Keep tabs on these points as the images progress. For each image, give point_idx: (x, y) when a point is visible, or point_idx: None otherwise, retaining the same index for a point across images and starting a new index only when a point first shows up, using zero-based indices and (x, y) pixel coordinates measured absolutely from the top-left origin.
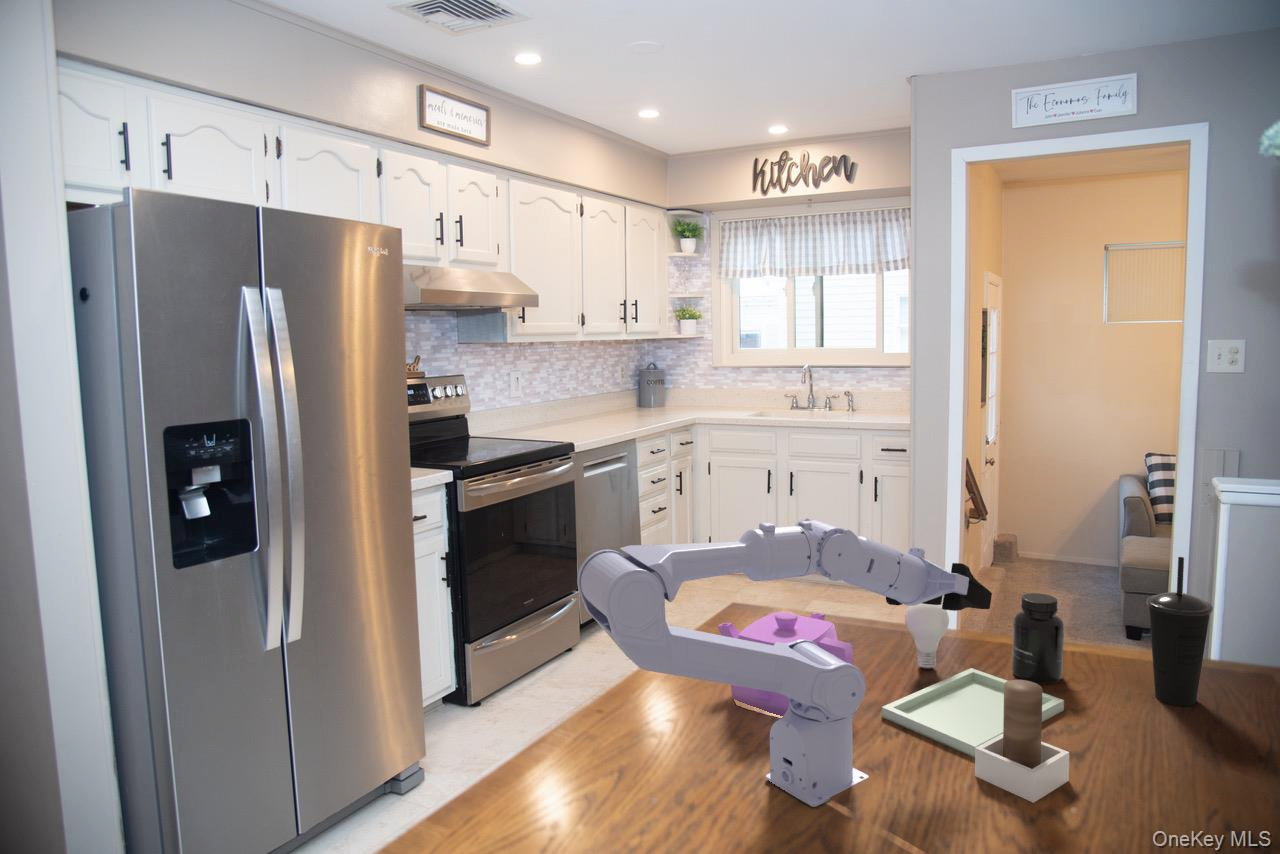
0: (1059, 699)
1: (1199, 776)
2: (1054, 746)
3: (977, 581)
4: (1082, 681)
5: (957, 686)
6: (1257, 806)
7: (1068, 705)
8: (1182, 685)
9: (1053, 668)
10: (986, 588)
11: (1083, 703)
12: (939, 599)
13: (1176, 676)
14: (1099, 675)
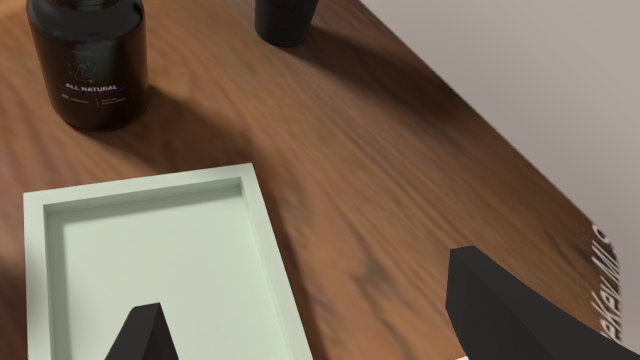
0: (245, 166)
1: (470, 179)
2: (466, 357)
3: (586, 326)
4: (167, 66)
5: (50, 269)
6: (543, 186)
7: (225, 148)
8: (311, 16)
9: (146, 84)
10: (496, 263)
11: (231, 125)
12: (172, 356)
13: (308, 8)
14: (165, 34)
